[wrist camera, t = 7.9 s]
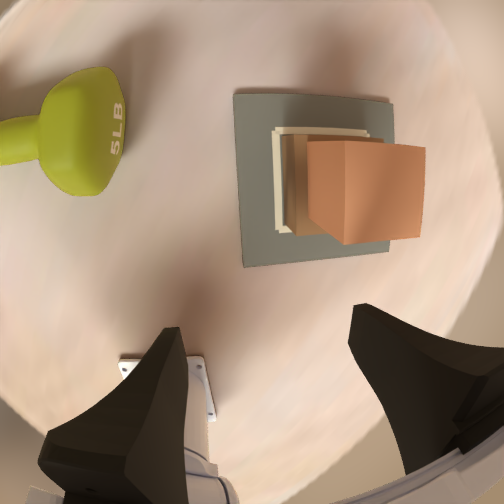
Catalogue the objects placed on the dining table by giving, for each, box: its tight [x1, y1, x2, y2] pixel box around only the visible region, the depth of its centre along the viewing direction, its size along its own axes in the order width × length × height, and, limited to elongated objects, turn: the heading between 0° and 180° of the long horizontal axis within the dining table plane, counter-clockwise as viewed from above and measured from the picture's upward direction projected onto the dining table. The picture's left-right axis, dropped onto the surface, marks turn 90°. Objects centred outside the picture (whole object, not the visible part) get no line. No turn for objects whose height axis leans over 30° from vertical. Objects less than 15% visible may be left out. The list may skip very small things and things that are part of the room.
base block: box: [282, 134, 384, 236], centre depth 18 cm, size 6×6×3 cm
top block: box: [307, 141, 425, 245], centre depth 14 cm, size 4×4×5 cm
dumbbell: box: [0, 67, 126, 196], centre depth 12 cm, size 16×8×7 cm, turn 85°
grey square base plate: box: [233, 93, 394, 268], centre depth 20 cm, size 12×12×1 cm
